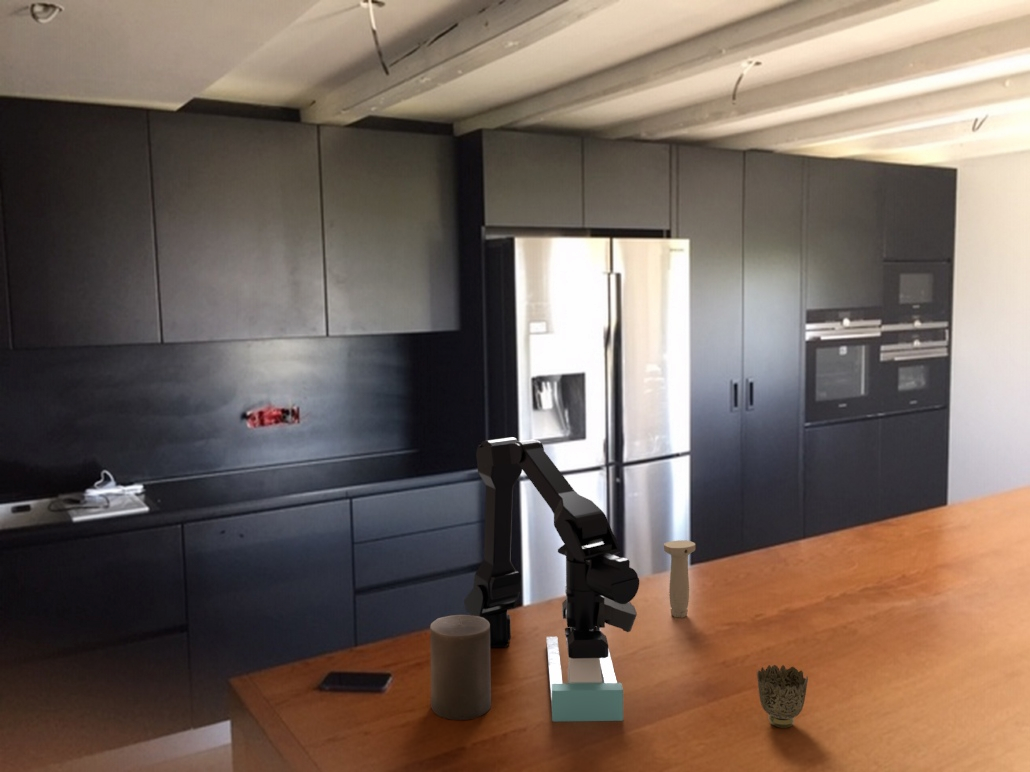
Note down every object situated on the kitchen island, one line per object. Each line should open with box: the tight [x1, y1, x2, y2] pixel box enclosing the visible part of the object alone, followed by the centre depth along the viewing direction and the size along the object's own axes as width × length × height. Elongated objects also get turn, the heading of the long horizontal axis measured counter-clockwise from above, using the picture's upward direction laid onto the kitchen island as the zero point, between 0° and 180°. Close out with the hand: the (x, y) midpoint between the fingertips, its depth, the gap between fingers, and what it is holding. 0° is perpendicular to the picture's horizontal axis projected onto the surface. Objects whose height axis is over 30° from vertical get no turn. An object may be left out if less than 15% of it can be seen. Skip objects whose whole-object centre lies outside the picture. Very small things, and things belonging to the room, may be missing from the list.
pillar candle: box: [429, 614, 492, 721], centre depth 143 cm, size 10×10×15 cm
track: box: [546, 636, 624, 722], centre depth 152 cm, size 11×28×5 cm, turn 0°
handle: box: [663, 539, 696, 619], centre depth 180 cm, size 5×6×15 cm
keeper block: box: [566, 657, 602, 683], centre depth 143 cm, size 5×5×6 cm
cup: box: [756, 664, 809, 729], centre depth 136 cm, size 8×7×8 cm
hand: (584, 675), depth 147 cm, fingers closed
